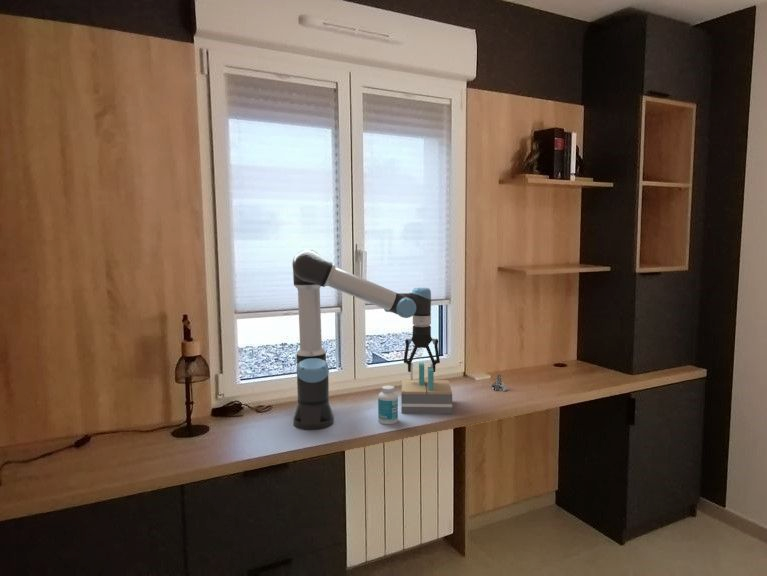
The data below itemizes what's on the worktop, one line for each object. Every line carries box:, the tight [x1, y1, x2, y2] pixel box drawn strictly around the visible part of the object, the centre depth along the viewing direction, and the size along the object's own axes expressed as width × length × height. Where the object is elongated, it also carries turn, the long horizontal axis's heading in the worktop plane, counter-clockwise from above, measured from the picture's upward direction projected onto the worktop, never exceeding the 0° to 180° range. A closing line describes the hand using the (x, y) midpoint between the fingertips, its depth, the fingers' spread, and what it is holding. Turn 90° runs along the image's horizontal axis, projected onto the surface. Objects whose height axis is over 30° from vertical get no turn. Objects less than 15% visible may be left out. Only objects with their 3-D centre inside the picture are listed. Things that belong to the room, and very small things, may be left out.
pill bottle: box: [377, 385, 399, 426], centre depth 191 cm, size 8×7×14 cm
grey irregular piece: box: [490, 373, 509, 393], centre depth 231 cm, size 9×9×8 cm
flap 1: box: [401, 362, 426, 394], centre depth 207 cm, size 10×16×9 cm, turn 178°
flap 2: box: [425, 366, 453, 395], centre depth 207 cm, size 10×16×9 cm, turn 178°
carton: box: [400, 382, 453, 415], centre depth 208 cm, size 20×16×8 cm
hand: (421, 379), depth 211 cm, fingers open, 8 cm apart
